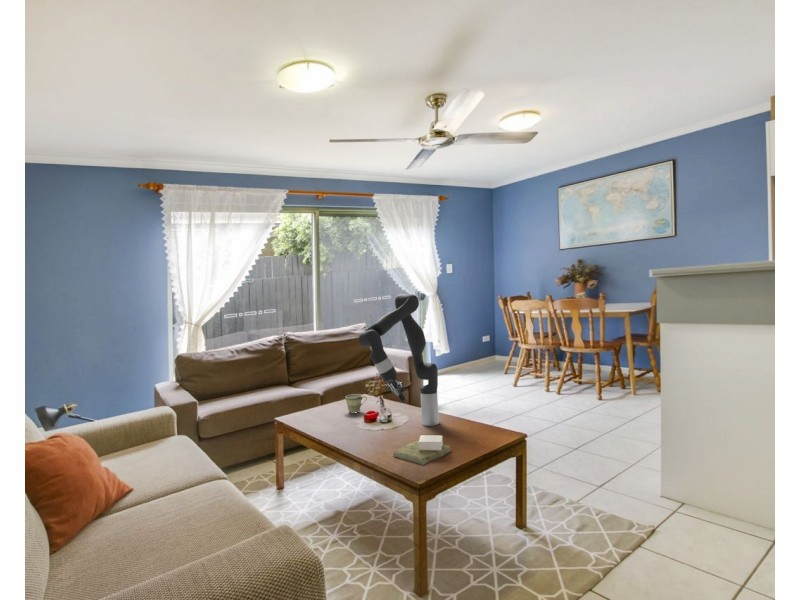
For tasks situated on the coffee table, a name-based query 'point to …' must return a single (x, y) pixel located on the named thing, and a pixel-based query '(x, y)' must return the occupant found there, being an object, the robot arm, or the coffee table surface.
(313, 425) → the coffee table surface
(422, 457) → the decorative tile
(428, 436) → the white rectangular block
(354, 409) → the ceramic cup
